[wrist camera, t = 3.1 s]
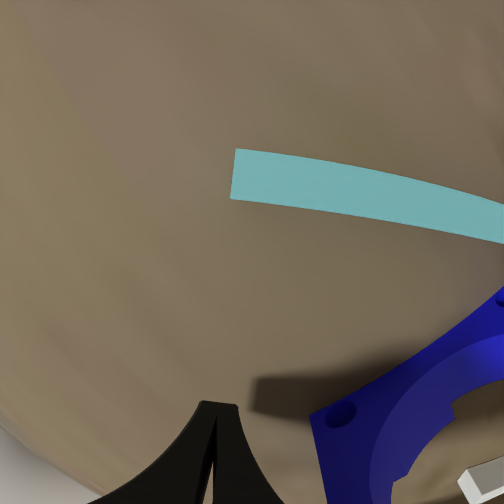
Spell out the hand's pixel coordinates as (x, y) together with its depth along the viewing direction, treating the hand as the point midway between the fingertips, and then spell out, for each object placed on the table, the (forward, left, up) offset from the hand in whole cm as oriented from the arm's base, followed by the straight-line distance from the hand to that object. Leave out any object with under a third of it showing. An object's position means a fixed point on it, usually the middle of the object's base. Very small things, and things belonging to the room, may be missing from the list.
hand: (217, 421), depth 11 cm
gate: (+9, -8, -2) cm, 12 cm away
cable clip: (+1, -10, -2) cm, 10 cm away
